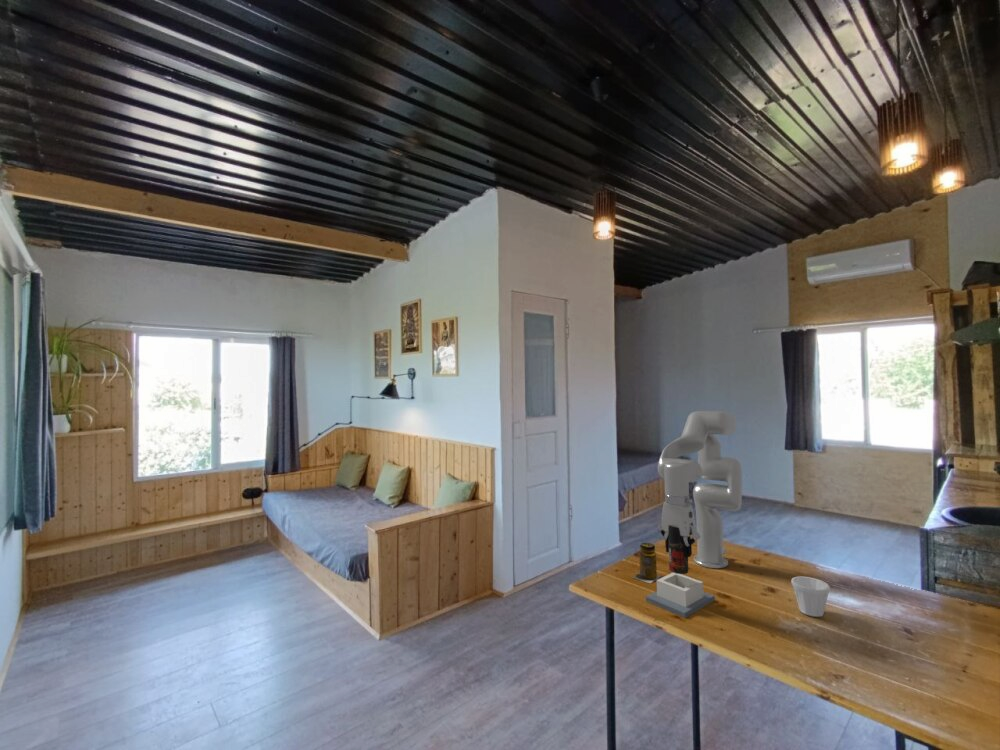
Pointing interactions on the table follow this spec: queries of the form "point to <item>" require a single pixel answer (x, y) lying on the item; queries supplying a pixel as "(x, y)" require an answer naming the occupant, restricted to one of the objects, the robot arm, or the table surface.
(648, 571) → the condiment
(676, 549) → the deodorant
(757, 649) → the table surface
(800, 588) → the cup
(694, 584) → the socket
